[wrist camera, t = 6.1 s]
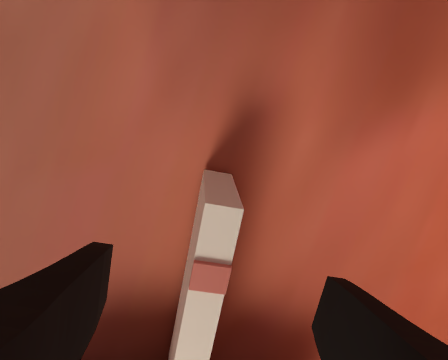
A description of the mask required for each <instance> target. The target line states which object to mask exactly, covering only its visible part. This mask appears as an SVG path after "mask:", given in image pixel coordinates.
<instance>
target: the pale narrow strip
mask: <svg viewBox="0 0 448 360" xmlns="http://www.w3.org/2000/svg"><path fill="white" fill-rule="evenodd" d="M243 212H244V208H243V205H242V202H241V199H240V197H239V194H238V191H237V188H236V185H235V182H234V179H233V177H232V174H228V173H222V172H216V171H211V170H205V169H204V171H203V177H202V182H201V187H200V192H199V198H198V203H197V208H196V214H195V219H194V224H193V229H192V235H191V240H190V245H189V251H188V256H187V261H186V266H185V272H184V277H183V282H182V288H181V293H180V298H179V303H178V309H177V314H176V319H175V324H174V330H173V335H172V340H171V346H170V351H169V357H168V360H210V355H211V351H212V347H213V342H214V338H215V334H216V329H217V325H218V321H219V316H220V312H221V307H222V303H223V299H224V295H226V291H227V287H228V283H229V278H230V274H231V270H232V267H231V264H232V260H233V255H234V251H235V247H236V242H237V238H238V234H239V229H240V225H241V220H242V216H243Z"/></svg>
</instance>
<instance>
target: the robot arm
mask: <svg viewBox="0 0 448 360" xmlns="http://www.w3.org/2000/svg"><path fill="white" fill-rule="evenodd" d="M112 250H113V245H112V244H105V243H98V242H92V243H90V244H88V245H86V246H84V247H83V248H81V249H79V250H77V251H76V252H74V253H72V254H70V255H69V256H67V257H65V258H63V259H61V260H59V261H58V262H56V263H54V264H52V265H50V266H48V267H46V268H44V269H42V270H40V271H38V272H36V273H34V274H32V275H30V276H28V277H26V278H24V279H22V280H19V281H17V282H15V283H13V284H11V285H8V286H6V287H3V288H1V289H0V360H81V358H82V356H83V354H84V352H85V350H86V348H87V346H88V344H89V342H90V340H91V338H92V336H93V334H94V332H95V330H96V327H97V325H98V322H99V319H100V316H101V314H102V311H103V308H104V305H105V302H106V298H107V290H108V282H109V274H110V266H111V258H112ZM312 330H313V334H314V338H315V342H316V345H317V349H318V352H319V356H320V358H321V360H448V345H446V344H445V343H443V342H441V341H440V340H438V339H436V338H435V337H433V336H432V335H430V334H429V333H427V332H425V331H424V330H422V329H421V328H419V327H417V326H416V325H414V324H413V323H411V322H410V321H408V320H407V319H405V318H404V317H402V316H401V315H399V314H398V313H396V312H395V311H393V310H392V309H390V308H389V307H388V306H386V305H385V304H383V303H382V302H380V301H379V300H377V299H376V298H375V297H373V296H372V295H370V294H369V293H367V292H366V291H364V290H363V289H361V288H360V287H358V286H356V285H355V284H353V283H351V282H350V281H348V280H346V279H343V278H336V277H329V276H327V279H326V283H325V286H324V289H323V292H322V295H321V298H320V302H319V305H318V308H317V311H316V314H315V317H314V321H313V324H312Z"/></svg>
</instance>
